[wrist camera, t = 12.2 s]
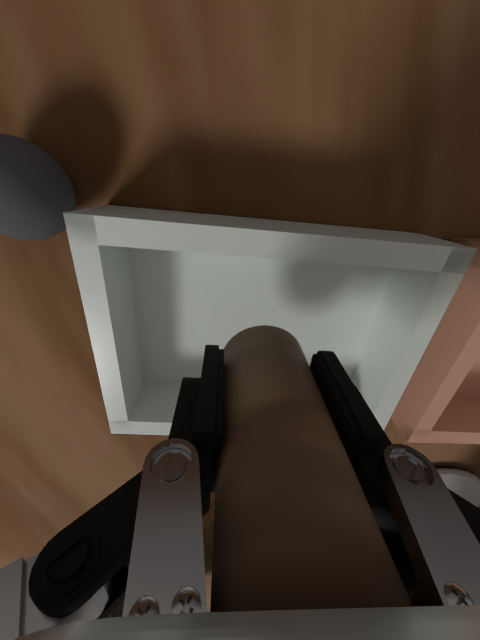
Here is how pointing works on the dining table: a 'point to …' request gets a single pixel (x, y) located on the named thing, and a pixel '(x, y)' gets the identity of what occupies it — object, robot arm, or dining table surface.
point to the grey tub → (251, 299)
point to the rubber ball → (32, 191)
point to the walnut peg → (289, 493)
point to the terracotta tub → (448, 371)
